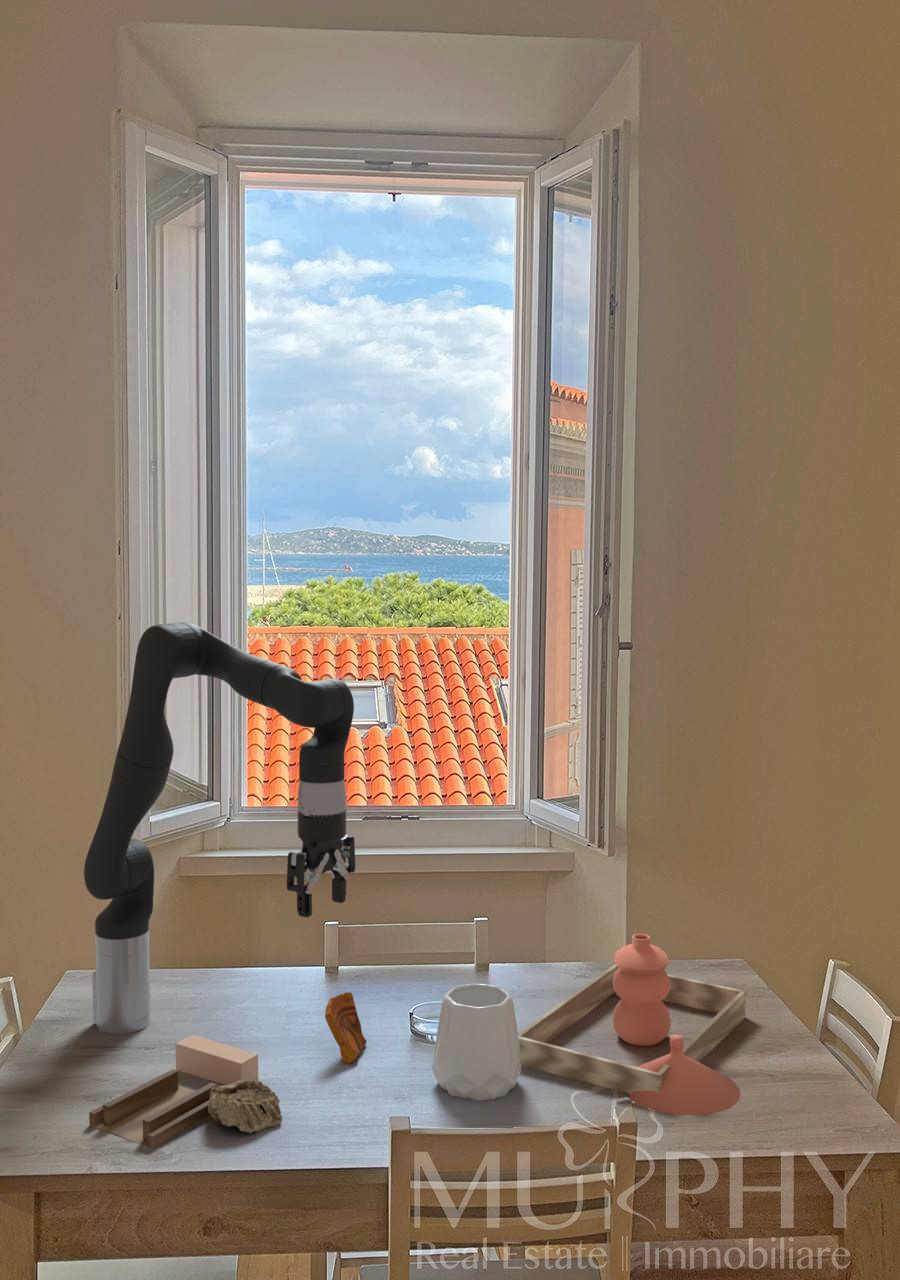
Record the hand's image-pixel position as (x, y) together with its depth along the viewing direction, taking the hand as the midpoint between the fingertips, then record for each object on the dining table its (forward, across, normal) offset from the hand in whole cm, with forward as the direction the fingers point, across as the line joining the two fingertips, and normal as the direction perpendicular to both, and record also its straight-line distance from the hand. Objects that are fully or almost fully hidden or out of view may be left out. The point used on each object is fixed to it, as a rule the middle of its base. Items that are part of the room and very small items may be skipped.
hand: (322, 908), depth 188 cm
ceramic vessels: (+29, -34, +44) cm, 63 cm away
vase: (+29, -13, +21) cm, 38 cm away
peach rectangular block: (+29, +7, -16) cm, 34 cm away
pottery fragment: (+29, -12, -3) cm, 31 cm away
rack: (+29, +22, -13) cm, 38 cm away
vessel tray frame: (+29, -43, +35) cm, 62 cm away
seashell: (+28, +21, +1) cm, 35 cm away
